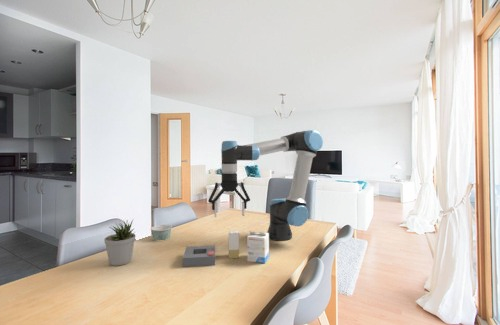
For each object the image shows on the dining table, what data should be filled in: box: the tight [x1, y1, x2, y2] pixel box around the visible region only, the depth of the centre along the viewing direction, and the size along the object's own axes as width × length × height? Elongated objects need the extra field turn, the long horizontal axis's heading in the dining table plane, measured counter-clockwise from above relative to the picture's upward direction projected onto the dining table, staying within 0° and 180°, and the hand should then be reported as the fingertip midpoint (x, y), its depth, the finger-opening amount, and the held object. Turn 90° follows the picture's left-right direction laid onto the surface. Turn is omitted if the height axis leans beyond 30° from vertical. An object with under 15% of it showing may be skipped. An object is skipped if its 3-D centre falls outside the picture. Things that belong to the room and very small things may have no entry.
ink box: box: [246, 231, 270, 264], centre depth 117 cm, size 9×8×13 cm
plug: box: [228, 229, 240, 259], centre depth 121 cm, size 4×4×12 cm
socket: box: [182, 244, 216, 268], centre depth 116 cm, size 14×14×5 cm
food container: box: [150, 224, 173, 241], centre depth 147 cm, size 12×12×6 cm
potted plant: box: [104, 219, 137, 267], centre depth 113 cm, size 13×14×20 cm
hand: (229, 216), depth 121 cm, fingers open, 13 cm apart
